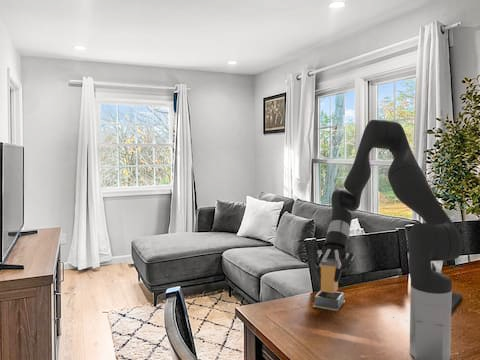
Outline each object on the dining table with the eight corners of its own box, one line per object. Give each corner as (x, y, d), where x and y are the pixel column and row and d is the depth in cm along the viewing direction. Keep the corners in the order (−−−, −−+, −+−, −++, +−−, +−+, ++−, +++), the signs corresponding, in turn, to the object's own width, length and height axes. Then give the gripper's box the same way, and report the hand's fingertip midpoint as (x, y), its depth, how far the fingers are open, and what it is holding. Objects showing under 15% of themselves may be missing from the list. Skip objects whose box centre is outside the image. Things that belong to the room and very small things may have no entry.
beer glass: (421, 287, 150) (422, 248, 149) (422, 282, 156) (423, 244, 155) (442, 290, 147) (442, 250, 146) (442, 285, 153) (443, 246, 152)
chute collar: (338, 309, 127) (338, 300, 126) (314, 305, 130) (314, 296, 130) (343, 301, 133) (343, 292, 133) (321, 297, 137) (321, 289, 137)
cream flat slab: (337, 314, 126) (337, 310, 126) (313, 310, 129) (313, 306, 129) (345, 304, 134) (345, 300, 134) (321, 300, 138) (321, 296, 138)
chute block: (334, 293, 129) (334, 262, 128) (320, 291, 131) (320, 261, 130) (337, 289, 133) (338, 259, 132) (324, 287, 135) (324, 258, 134)
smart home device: (421, 305, 129) (437, 289, 145) (421, 310, 129) (437, 294, 145) (449, 311, 124) (462, 294, 139) (449, 317, 124) (462, 299, 139)
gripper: (315, 228, 140) (304, 271, 131) (356, 231, 134) (348, 277, 124) (319, 240, 145) (309, 282, 136) (359, 244, 139) (351, 288, 129)
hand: (327, 279), depth 130 cm, fingers closed on chute block, 4 cm apart
